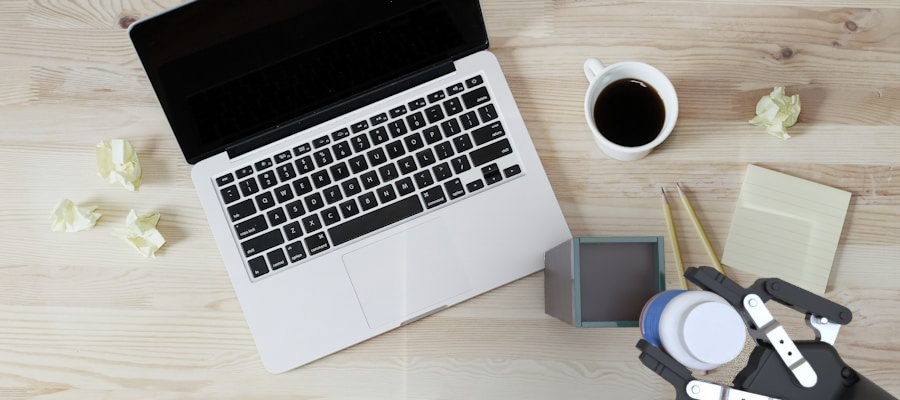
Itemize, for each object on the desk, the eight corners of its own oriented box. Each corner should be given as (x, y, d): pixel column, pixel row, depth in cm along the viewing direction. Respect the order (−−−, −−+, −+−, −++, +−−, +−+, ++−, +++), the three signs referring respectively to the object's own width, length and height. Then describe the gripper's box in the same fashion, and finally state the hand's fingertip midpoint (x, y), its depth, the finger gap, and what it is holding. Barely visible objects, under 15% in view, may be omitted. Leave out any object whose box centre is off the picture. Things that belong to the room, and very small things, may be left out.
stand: (606, 313, 87) (661, 325, 60) (544, 313, 87) (572, 326, 61) (604, 251, 88) (658, 237, 61) (543, 252, 88) (570, 238, 61)
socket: (661, 325, 60) (667, 327, 58) (572, 326, 61) (575, 327, 59) (658, 237, 61) (663, 236, 59) (570, 238, 61) (573, 236, 59)
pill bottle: (631, 351, 57) (661, 363, 47) (646, 282, 57) (679, 280, 48) (702, 369, 56) (747, 385, 47) (716, 299, 57) (764, 301, 47)
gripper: (972, 370, 46) (739, 216, 48) (849, 567, 45) (615, 402, 47) (904, 359, 54) (704, 226, 55) (797, 528, 53) (597, 386, 54)
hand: (664, 307), depth 51 cm, fingers closed on pill bottle, 5 cm apart
